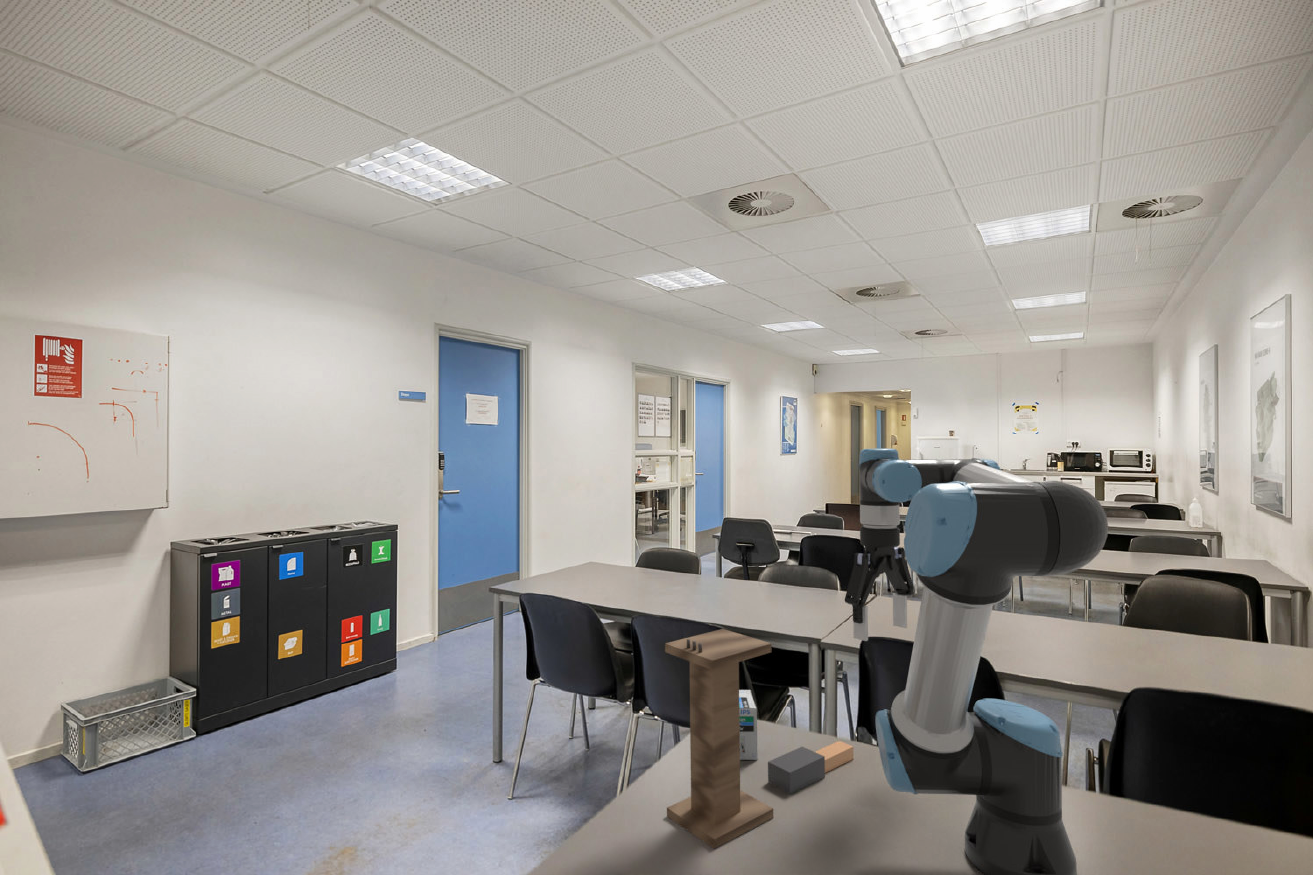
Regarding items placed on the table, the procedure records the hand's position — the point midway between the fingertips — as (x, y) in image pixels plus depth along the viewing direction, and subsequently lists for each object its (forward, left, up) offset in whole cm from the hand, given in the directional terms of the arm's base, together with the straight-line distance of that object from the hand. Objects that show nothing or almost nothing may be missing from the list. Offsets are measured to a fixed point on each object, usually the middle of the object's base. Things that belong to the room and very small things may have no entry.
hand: (881, 632), depth 132 cm
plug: (+8, +12, -27) cm, 30 cm away
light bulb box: (+24, +16, -27) cm, 40 cm away
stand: (+8, +37, -27) cm, 46 cm away
